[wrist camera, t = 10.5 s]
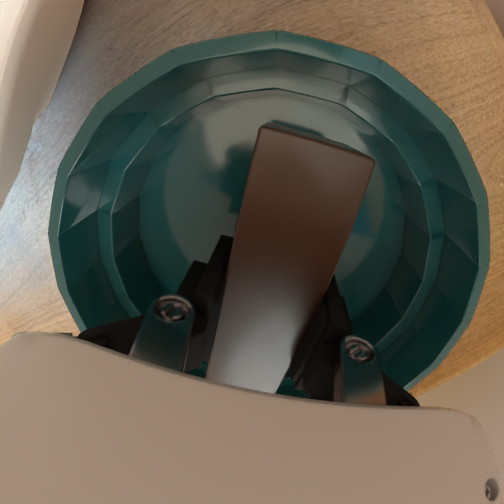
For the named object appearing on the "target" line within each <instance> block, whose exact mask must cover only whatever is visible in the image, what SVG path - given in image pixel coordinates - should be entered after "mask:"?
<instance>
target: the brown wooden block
mask: <svg viewBox="0 0 504 504" xmlns="http://www.w3.org/2000/svg"><path fill="white" fill-rule="evenodd" d="M374 165H375V160H374V159H373V158H371V157H369V156H367V155H366V154H364V153H362V152H360V151H358V150H356V149H354V148H352V147H350V146H348V145H346V144H344V143H341V142H337V141H334V140H331V139H328V138H325V137H322V136H318V135H315V134H311V133H308V132H305V131H301V130H297V129H294V128H290V127H286V126H282V125H278V124H274V123H270V122H268V123H265V124H264V125H262V126H260V128H259V130H258V134H257V139H256V143H255V147H254V151H253V155H252V160H251V164H250V168H249V173H248V177H247V181H246V185H245V190H244V194H243V199H242V203H241V207H240V212H239V216H238V221H237V225H236V230H235V234H234V239H233V244H232V248H231V253H230V257H229V262H228V267H227V271H226V276H225V280H226V285H225V290H224V295H223V299H222V304H221V309H220V313H219V318H218V323H217V328H216V332H215V337H214V342H213V347H212V350H211V354H210V358H209V361H208V365H207V370H206V375H205V379H208V380H212V381H216V382H221V383H225V384H229V385H234V386H238V387H243V388H248V389H253V390H258V391H263V392H269V393H274V394H276V392H277V390H278V388H279V386H280V385H281V383H282V381H283V379H284V377H285V375H286V373H287V372H288V370H289V368H290V366H291V362H292V360H293V358H294V356H295V354H296V352H297V350H298V348H299V346H300V344H301V342H302V340H303V338H304V336H305V334H306V332H307V330H308V328H309V326H310V324H311V321H312V319H313V317H314V315H315V313H316V311H317V309H318V306H319V304H320V303H321V302H322V300H323V298H324V295H325V293H326V291H327V289H328V286H329V284H330V282H331V279H332V277H333V275H334V272H335V270H336V268H337V265H338V263H339V260H340V258H341V256H342V253H343V251H344V248H345V246H346V243H347V241H348V238H349V235H350V233H351V230H352V228H353V225H354V222H355V220H356V217H357V214H358V212H359V209H360V206H361V203H362V201H363V198H364V195H365V192H366V189H367V186H368V183H369V180H370V178H371V175H372V171H373V168H374Z"/></svg>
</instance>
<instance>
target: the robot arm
mask: <svg viewBox="0 0 504 504" xmlns="http://www.w3.org/2000/svg"><path fill="white" fill-rule="evenodd" d="M233 239H234V237H230V236H226V235H222V234H221V236H220V238H219V240H218V242H217V245H216V247H215V249H214V251H213V253H212V255H211V257H210V259H209V262H208V263H204V262H200V261H196V260H194V261H193V262H192V264H191V266H190V268H189V270H188V271H187V273H186V275H185V277H184V279H183V281H182V282H181V284H180V286H179V288H178V290H177V292H176V294H164V295H161V296H158V297H156V298H155V299H153V301H152V302H151V303H150V305H149V308H148V310H147V312H146V314H145V315H141V316H137V317H133V318H129V319H125V320H121V321H117V322H113V323H109V324H105V325H101V326H97V327H93V328H89V329H87V330H84V331H83V332H81V333H80V334H79V335H78V337H73V336H72V333H49V332H39V331H38V332H19V333H17V334H15V335H13V336H12V337H11V338H10V339H9V340H8V341H6V342H5V343H4V344H3V345H2V346H1V347H0V504H504V494H503V489H502V483H501V478H500V474H499V470H498V466H497V462H496V458H495V455H494V452H493V448H492V446H491V443H490V440H489V438H488V435H487V433H486V431H485V429H484V427H483V425H482V424H481V423H480V421H478V420H477V419H476V418H475V417H473V416H471V415H469V414H466V413H464V412H461V411H458V410H454V409H450V408H440V407H421V406H420V405H419V403H418V402H417V400H416V399H415V398H414V397H413V396H412V395H411V394H410V393H408V392H407V391H406V390H405V389H404V388H402V387H401V386H400V385H399V384H397V383H396V382H395V381H394V380H393V379H391V378H390V377H389V376H388V375H386V374H385V373H384V372H383V371H382V370H381V366H380V360H379V355H378V352H377V349H376V348H375V346H374V345H373V344H372V343H371V342H370V341H368V340H367V339H365V338H363V337H360V336H356V335H354V334H353V330H352V326H351V322H350V318H349V314H348V310H347V306H346V303H345V299H344V297H343V296H340V293H339V289H338V285H337V282H336V278H335V274H334V275H333V277H332V279H331V282H330V284H329V286H328V289H327V291H326V293H325V295H324V298H323V300H322V302H321V303H320V304H319V306H318V309H317V311H316V313H315V315H314V317H313V319H312V321H311V324H310V326H309V328H308V330H307V332H306V334H305V336H304V338H303V340H302V342H301V344H300V346H299V348H298V350H297V352H296V354H295V356H294V358H293V360H292V362H291V370H290V378H291V380H294V381H295V389H298V390H305V391H306V392H307V393H308V394H307V396H306V398H300V397H293V396H286V395H280V394H274V393H269V392H263V391H258V390H253V389H248V388H243V387H238V386H234V385H229V384H225V383H221V382H216V381H212V380H208V379H204V378H200V377H197V376H193V375H189V374H188V371H191V370H193V369H196V368H198V369H200V368H201V365H202V361H205V362H208V361H209V358H210V354H211V350H212V347H213V342H214V337H215V332H216V328H217V323H218V318H219V313H220V309H221V304H222V299H223V295H224V290H225V285H226V280H225V276H226V271H227V267H228V262H229V257H230V253H231V248H232V244H233Z"/></svg>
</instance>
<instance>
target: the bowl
mask: <svg viewBox="0 0 504 504" xmlns="http://www.w3.org/2000/svg"><path fill="white" fill-rule="evenodd" d="M83 4H84V0H0V210H1V208H2V206H3V204H4V202H5V199H6V197H7V195H8V193H9V191H10V189H11V187H12V185H13V183H14V181H15V180H16V178H17V175H18V173H19V171H20V167H21V164H22V160H23V157H24V154H25V151H26V148H27V145H28V142H29V139H30V136H31V132H32V127H33V125H34V123H35V122H36V121H37V120H38V118H39V117H40V116H41V114H42V113H43V112H44V111H45V109H46V108H47V106H48V105H49V102H50V100H51V98H52V96H53V93H54V90H55V87H56V85H57V82H58V79H59V76H60V74H61V71H62V69H63V66H64V64H65V61H66V59H67V56H68V53H69V50H70V47H71V44H72V41H73V39H74V36H75V33H76V29H77V26H78V22H79V19H80V16H81V13H82V8H83Z"/></svg>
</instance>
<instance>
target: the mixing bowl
mask: <svg viewBox="0 0 504 504" xmlns="http://www.w3.org/2000/svg"><path fill="white" fill-rule="evenodd" d="M268 122H270V123H274V124H278V125H282V126H286V127H290V128H294V129H297V130H301V131H305V132H308V133H311V134H315V135H318V136H322V137H325V138H328V139H331V140H334V141H337V142H341V143H344V144H346V145H348V146H350V147H352V148H354V149H356V150H358V151H360V152H362V153H364V154H366V155H367V156H369V157H371V158H373V159H374V160H375V165H374V168H373V171H372V175H371V178H370V180H369V183H368V186H367V189H366V192H365V195H364V198H363V201H362V203H361V206H360V209H359V212H358V214H357V217H356V220H355V222H354V225H353V228H352V230H351V233H350V235H349V238H348V241H347V243H346V246H345V248H344V251H343V253H342V256H341V258H340V260H339V263H338V265H337V268H336V270H335V272H334V274H335V278H336V282H337V285H338V289H339V293H340V296H343V297H344V299H345V303H346V306H347V310H348V314H349V318H350V322H351V326H352V330H353V334H354V335H356V336H360V337H363V338H365V339H367V340H368V341H370V342H371V343H372V344H373V345H374V346H375V348H376V349H377V352H378V355H379V360H380V366H381V370H382V371H383V372H384V373H385V374H386V375H388V376H389V377H390V378H391V379H393V380H394V381H395V382H396V383H397V384H399V385H400V386H401V387H402V388H404V389H405V390H406V391H407V392H408V391H409V390H410V389H412V388H413V387H414V386H416V385H417V384H418V383H419V382H420V381H422V380H423V379H424V378H425V377H427V376H428V375H429V374H430V373H431V372H433V371H434V370H435V369H436V368H437V367H438V366H439V365H440V364H441V363H442V362H443V360H444V359H445V358H446V356H447V355H448V354H449V352H450V351H451V350H452V348H453V347H454V346H455V344H456V343H457V342H458V340H459V339H460V337H461V336H462V334H463V333H464V331H465V330H466V328H467V327H468V325H469V324H470V322H471V320H472V318H473V315H474V312H475V310H476V307H477V304H478V301H479V298H480V295H481V292H482V289H483V286H484V283H485V279H486V276H487V272H488V269H489V263H490V225H489V208H488V197H487V193H486V190H485V187H484V185H483V182H482V180H481V177H480V175H479V172H478V170H477V168H476V166H475V163H474V161H473V159H472V157H471V154H470V152H469V150H468V148H467V146H466V144H465V142H464V140H463V138H462V136H461V134H460V132H459V130H458V129H457V127H456V125H455V123H454V122H453V121H452V120H451V119H450V118H449V117H448V116H447V115H446V114H445V113H444V112H443V111H442V110H441V109H440V108H439V107H438V106H437V105H436V104H435V103H434V102H433V101H432V100H431V99H430V98H429V97H428V96H426V95H425V94H424V93H423V92H422V91H421V90H420V89H419V88H417V87H416V86H415V85H414V84H413V83H411V82H410V81H409V80H408V79H407V78H405V77H404V76H403V75H402V74H400V73H399V72H398V71H397V70H395V69H394V68H393V67H391V66H390V65H389V64H387V63H386V62H385V61H383V60H380V59H379V58H378V57H375V56H373V55H370V54H367V53H364V52H361V51H358V50H355V49H352V48H349V47H346V46H343V45H339V44H336V43H332V42H329V41H325V40H321V39H317V38H313V37H309V36H305V35H300V34H296V33H291V32H286V31H275V30H271V31H261V32H253V33H246V34H239V35H233V36H227V37H221V38H216V39H211V40H206V41H202V42H197V43H193V44H189V45H185V46H181V47H177V48H175V49H174V50H173V49H172V50H170V51H168V52H167V53H165V54H163V55H162V56H160V57H158V58H157V59H155V60H154V61H152V62H151V63H149V64H148V65H146V66H145V67H143V68H142V69H140V70H139V71H137V72H136V73H135V74H133V75H132V76H130V77H129V78H128V79H126V80H125V81H123V82H122V83H121V84H119V85H118V86H117V87H116V88H114V89H113V90H112V91H110V92H109V93H108V94H107V95H105V96H104V97H103V98H102V99H100V100H99V101H98V103H97V104H96V105H95V107H94V108H93V109H92V111H91V112H90V114H89V116H88V117H87V119H86V120H85V122H84V123H83V125H82V127H81V128H80V130H79V131H78V133H77V135H76V136H75V138H74V140H73V142H72V143H71V145H70V147H69V149H68V150H67V152H66V154H65V156H64V158H63V159H62V161H61V163H60V165H59V168H58V171H57V176H56V181H55V187H54V192H53V198H52V204H51V211H50V219H49V227H48V231H49V232H48V237H49V243H50V250H51V256H52V261H53V266H54V271H55V276H56V281H57V285H58V289H59V291H60V293H61V295H62V297H63V299H64V301H65V303H66V305H67V307H68V309H69V311H70V313H71V315H72V317H73V319H74V321H75V323H76V325H77V326H78V328H79V330H80V332H83V331H84V330H87V329H89V328H93V327H97V326H101V325H105V324H109V323H113V322H117V321H121V320H125V319H129V318H133V317H137V316H141V315H145V314H146V312H147V310H148V308H149V305H150V303H151V302H152V301H153V299H155V298H156V297H158V296H161V295H164V294H176V292H177V290H178V288H179V286H180V284H181V282H182V281H183V279H184V277H185V275H186V273H187V271H188V270H189V268H190V266H191V264H192V262H193V261H194V260H196V261H200V262H204V263H208V262H209V259H210V257H211V255H212V253H213V251H214V249H215V247H216V245H217V242H218V240H219V238H220V236H221V234H222V235H226V236H230V237H234V234H235V230H236V225H237V221H238V216H239V212H240V207H241V203H242V199H243V194H244V190H245V185H246V181H247V177H248V173H249V168H250V164H251V160H252V155H253V151H254V147H255V143H256V139H257V134H258V130H259V128H260V126H262V125H264V124H265V123H268ZM207 365H208V362H205V361H202V365H201V368H200V369H198V368H196V369H193V370H191V371H188V374H189V375H193V376H197V377H200V378H204V379H205V375H206V370H207ZM290 370H291V366H290V368H289V370H288V372H287V373H286V375H285V377H284V379H283V381H282V383H281V385H280V386H279V388H278V390H277V392H276V394H280V395H286V396H293V397H300V398H306V396H307V394H308V393H307V392H306V391H305V390H298V389H295V381H294V380H291V378H290Z"/></svg>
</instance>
